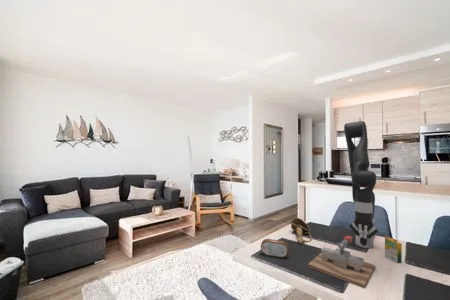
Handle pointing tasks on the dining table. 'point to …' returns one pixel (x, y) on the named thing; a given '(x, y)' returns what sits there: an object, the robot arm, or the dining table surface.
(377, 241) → the dining table surface
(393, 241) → the crayon box
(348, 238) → the lever
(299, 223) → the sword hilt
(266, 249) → the tin
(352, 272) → the walnut board
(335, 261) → the steel pipe and valve
